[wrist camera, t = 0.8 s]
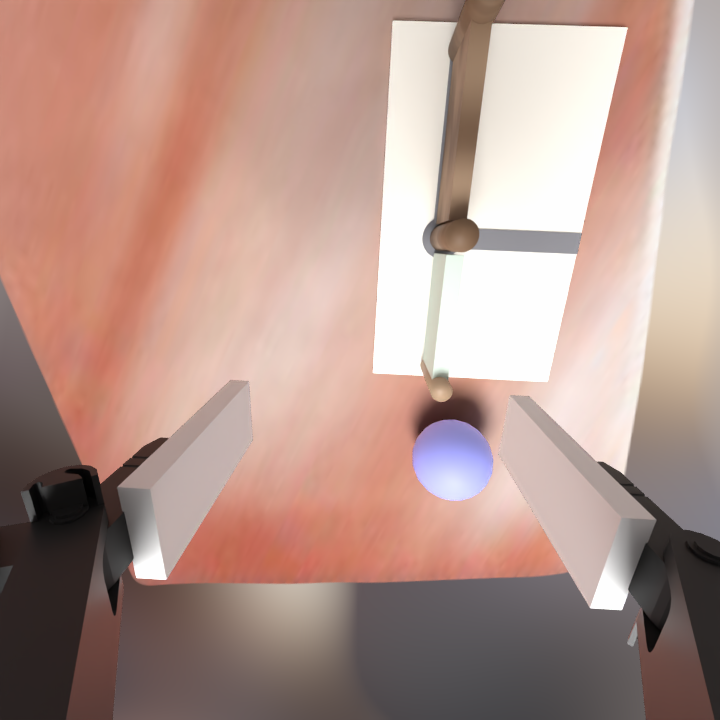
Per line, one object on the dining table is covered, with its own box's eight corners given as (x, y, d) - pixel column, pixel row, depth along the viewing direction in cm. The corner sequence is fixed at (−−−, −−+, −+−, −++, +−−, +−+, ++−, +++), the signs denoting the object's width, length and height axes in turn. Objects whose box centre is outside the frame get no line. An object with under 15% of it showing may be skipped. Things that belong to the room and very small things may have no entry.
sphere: (394, 439, 35) (398, 485, 28) (445, 392, 33) (463, 429, 26) (442, 480, 36) (458, 533, 29) (494, 437, 34) (523, 483, 28)
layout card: (392, 24, 24) (392, 19, 24) (623, 30, 24) (628, 26, 24) (372, 371, 33) (372, 373, 32) (545, 380, 32) (548, 382, 32)
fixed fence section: (450, 31, 24) (479, -51, 17) (478, 31, 24) (519, -50, 17) (428, 250, 29) (445, 251, 22) (452, 251, 29) (476, 253, 22)
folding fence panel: (431, 253, 28) (446, 254, 23) (451, 254, 28) (471, 255, 22) (419, 373, 31) (429, 401, 26) (437, 374, 31) (451, 402, 26)
